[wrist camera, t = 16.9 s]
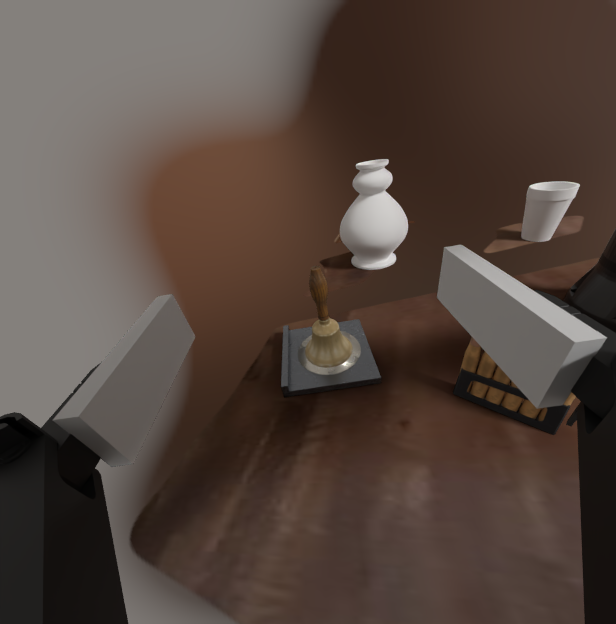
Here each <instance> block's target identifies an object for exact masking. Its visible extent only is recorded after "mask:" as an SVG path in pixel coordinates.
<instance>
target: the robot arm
mask: <svg viewBox="0 0 616 624" xmlns="http://www.w3.org/2000/svg"><path fill="white" fill-rule="evenodd" d="M437 298H438V299H439V301H440V302H441V303H442V304H443V305H444V306H445V307H446V308H447V309H448V311H449V312H450V313H451V314H452V315H453V316H454V317H455V318H456V319H457V321H458V322H459V323H460V324H461V325H462V326H463V327H464V328H465V329H466V331H467V332H468V333H469V334H470V335H471V336H472V337H473V338H474V339H475V341H476V342H477V343H478V344H479V345H480V346H481V347H482V348H483V349H484V351H485V352H486V353H487V354H488V355H489V356H490V357H491V358H492V359H493V360H494V362H495V363H496V364H497V365H498V366H499V367H500V368H501V369H502V370H503V372H504V373H505V374H506V375H507V376H508V377H509V378H510V379H511V380H512V382H513V383H514V384H515V385H516V386H517V387H518V388H519V389H520V390H521V392H522V393H523V394H524V395H525V396H526V397H527V398H528V399H529V400H530V402H531V403H532V404H533V405H534V406H535V407H536V408H537V409H538V408H545V407H553V406H560V405H563V404H564V402H565V401H566V399H567V398H568V396H569V395H570V393H571V392H572V393H573V394H574V395H575V396H576V397H577V398H578V399H579V400H580V401H581V402H580V404H579V405H578V407H577V408H576V409H575V411H574V412H573V413H572V415H571V416H570V418H569V419H568V421H567V424H566V425H569V426H572V425H573V423H574V422H575V421H576V420H577V427H578V454H579V480H580V507H581V533H582V560H583V586H584V613H585V624H616V229H615V231H614V233H613V235H612V237H611V238H610V240H609V242H608V244H607V246H606V248H605V250H604V252H603V253H602V255H601V257H600V259H599V261H598V263H597V264H596V265H595V266H594V267H593V268H592V269H591V270H589V271H588V272H587V273H586V274H585V275H584V276H583V277H582V278H581V279H580V280H578V281H577V282H576V283H575V284H574V285H573V286H572V287H571V288H570V289H569V291H568V292H567V294H566V296H565V298H564V301H562V300H560V299H559V298H557V297H555V296H553V295H550V294H547V293H544V292H542V291H539V290H532V289H530V288H528V287H527V286H525V285H524V284H522V283H521V282H519V281H517V280H516V279H514V278H513V277H511V276H509V275H508V274H506V273H505V272H503V271H501V270H500V269H499V268H497V267H495V266H494V265H492V264H491V263H489V262H488V261H486V260H484V259H483V258H481V257H479V256H478V255H476V254H475V253H473V252H472V251H470V250H469V249H467V248H466V247H464V246H462V245H457V246H451V247H445V248H444V254H443V260H442V267H441V273H440V280H439V287H438V294H437ZM194 339H195V335H194V333H193V331H192V330H191V328H190V326H189V324H188V322H187V320H186V318H185V317H184V315H183V313H182V311H181V309H180V307H179V306H178V304H177V302H176V300H175V298H174V296H173V294H170V295H164V296H159V297H157V298H156V299H155V300H154V301H153V302H152V304H151V305H150V306H149V307H148V308H147V309H146V311H145V312H144V313H143V314H142V315H141V316H140V318H139V319H138V320H137V321H136V323H135V324H134V325H133V326H132V327H131V328H130V330H129V331H128V332H127V333H126V334H125V335H124V336H123V338H122V339H121V340H120V341H119V342H118V344H117V345H116V346H115V347H114V348H113V350H112V351H111V352H110V353H109V354H108V355H107V356H106V358H105V359H104V360H103V361H102V362H101V363H100V364H99V365H97V366H96V367H95V368H93V369H92V370H91V371H90V372H89V373H88V375H87V376H86V377H85V378H84V379H83V380H82V381H81V382H82V383H81V384H79V385H78V386H77V387H76V388H75V390H74V391H73V392H74V393H72V394H70V395H69V397H68V398H67V399H66V400H65V401H64V402H63V403H62V405H61V406H60V407H59V408H58V409H57V411H56V412H55V413H54V414H53V415H52V416H51V417H50V418H49V420H48V421H47V422H46V423H45V424H44V425H43V427H42V428H40V427H38V426H37V425H35V424H34V423H33V422H31V421H30V420H29V419H27V418H26V417H25V416H23V415H22V414H21V413H15V412H14V413H10V414H6V415H3V416H1V417H0V624H128V620H127V614H126V609H125V604H124V599H123V593H122V587H121V582H120V576H119V571H118V566H117V561H116V555H115V550H114V544H113V538H112V533H111V528H110V522H109V517H108V511H107V506H106V501H105V495H104V490H103V485H102V479H101V474H100V473H99V471H98V470H97V469H95V467H96V465H97V464H98V462H99V460H100V459H102V460H103V461H105V462H106V463H107V464H109V465H110V466H111V467H116V466H123V465H130V464H134V462H135V460H136V458H137V455H138V453H139V451H140V449H141V447H142V445H143V443H144V441H145V439H146V437H147V435H148V433H149V431H150V429H151V427H152V425H153V423H154V421H155V419H156V416H157V414H158V412H159V410H160V408H161V406H162V404H163V402H164V400H165V398H166V396H167V394H168V392H169V390H170V388H171V386H172V384H173V381H174V380H175V378H176V376H177V373H178V371H179V369H180V367H181V365H182V363H183V361H184V359H185V357H186V355H187V352H188V351H189V349H190V347H191V345H192V343H193V340H194Z"/></svg>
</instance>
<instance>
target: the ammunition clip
mask: <svg viewBox="0 0 616 624" xmlns="http://www.w3.org/2000/svg"><path fill="white" fill-rule="evenodd" d="M480 356H481V346H480V345H479V344H478V343H477V342H476V341H475V339H474V338H473V337H471V341H470V343H469V346H468V348H467V349H466V351H465V355H464V359H463V362H462V366H461V370H460V373H459V377H458V379H457V382H456V385H455V388H454V391H453V394H454V395H457V396H459V397H462V398H464V399H467V400H469V401H471V402H474V403H476V404H479V405H481V406H484V407H486V408H489V409H491V410H494V411H496V412H498V413H501V414H503V415H506V416H508V417H511V418H513V419H516V420H518V421H521V422H523V423H525V424H528V425H530V426H533V427H535V428H538V429H540V430H543V431H545V432H548V433H550V434H552V435H554V434H555V433H556V431H557V430H558V428H559V426H560V424H561V423H562V421H563V419H564V417H565V415H566V414H567V412H568V410H569V408H570V405H571V403H572V402H573V400H574V399H575V397H576V396H575V395H574V394H573V393H572V392H571V393H570V395H569V396H568V398H567V399H566V401H565V402H564V404H563V405H560V406H553V407H545V408H543V409H542V408H538V409H537V408H536V407H535V406H534V405H533V404H532V403H531V402H530V400H529V399H528V398H527V397H526V396H525V395H524V394H523V393H522V392H521V390H520V389H519V388H518V387H517V386H516V385H515V384H514V383H513V382H512V380H511V379H510V378H509V377H508V376H507V375H506V374H505V373H504V372H503V370H502V369H501V368H500V367H499V366H497V368H496V365H497V364H496V363H495V362H494V360H493V359H492V358H491V357H490V356H489V355H488V354H487V353H486V352H484V353H483V355H482V357H481V360H480ZM479 360H480V363H479ZM478 363H479V365H478ZM495 368H496V371H495ZM475 373H476V374H475ZM492 377H493V379H492ZM472 383H473V384H472ZM509 383H510V385H509ZM488 387H489V389H488ZM505 393H506V394H505ZM504 395H505V396H504ZM523 399H524V401H523ZM522 401H523V403H522ZM541 409H542V410H541Z"/></svg>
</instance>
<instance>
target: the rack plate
mask: <svg viewBox="0 0 616 624" xmlns="http://www.w3.org/2000/svg"><path fill="white" fill-rule="evenodd" d="M338 325H339V328H340V332H341V334H342V335H343V336H345V337H346V338H348V340H349V341H350V342H351V344H352V348H353V350H352V354H351V356H350V357H349V359H348V360H347V361H345V362H344V363H342V364H340V365H338V366H335V367H327V368H324V367H319V366H316V365H314V364H312V363H311V362H309V361H308V359H307V358H306V355H305V349H306V346H307V344H308V342H309V341H310V340H311V339H312V327H308V328H302V329H295V330H289V326H288V325H287V326H283V350H282V376H281V388H282V391H283V394H284V397H290V396H297V395H303V394H310V393H317V392H323V391H330V390H337V389H344V388H350V387H357V386H364V385H370V384H377V383H381V376H380V373H379V371H378V368H377V365H376V363H375V360H374V357H373V355H372V352H371V350H370V347H369V344H368V342H367V339H366V336H365V334H364V331H363V329H362V326H361V323H360V321H359V319H358V320H352V321H345V322H339V323H338Z"/></svg>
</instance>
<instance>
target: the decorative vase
mask: <svg viewBox="0 0 616 624" xmlns="http://www.w3.org/2000/svg"><path fill="white" fill-rule="evenodd" d="M388 162H389V161H388V159H380V160H372V161H367V162H362V163H358V164H356V168H357V169H359V170H360V172H359V174H357V176H356V177H355V178H354V180H353V187H354V188H355V190H356V191H357V192H359V193H360V195H359V196H358V197H357V199H356V200H355V201H354V202H353V203H352V205H351V206H350V208H349V209H348V210H347V212H346V214H345V216H344V218H343V220H342V222H341V226H340V237H341V240H342V242H343V243H344V244H345V246H346V247H347V248H348V249H349V250H350V251H351V252H352V253H353V254H354V256H353V257H352V259H351V262H352V264H353V265H354V266H355V267H357V268H360V269H366V270H375V269H382V268H386V267H388V266H390V265H392V264H393V263H394V262H395V261H396V256H395V254H393V253H392V252H393V251H394V250H395V249H396V248H397V247H398V246H399V244H400V243H401V242H402V241H403V240H404V238H405V236H406V234H407V231H408V221H407V218H406V215H405V213H404V211H403V210H402V208H401V207H400V205H399V204H398V203H397V202H396V201H395V200H394V199H393V198H392V197H391V196H390V195H389V194H388V193H387V192H385V190H386V189H387V188H388V187H389V185H390V184H391V182H392V175H391V173H390V172H389V171H388V170H386V169H385V168H384V166H385V165H387V164H388Z"/></svg>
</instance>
